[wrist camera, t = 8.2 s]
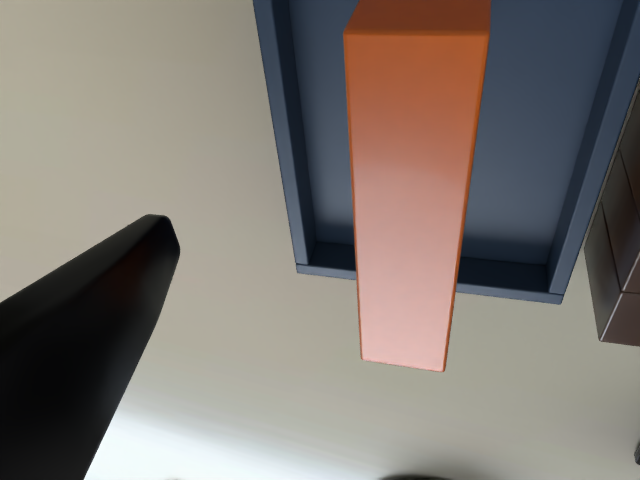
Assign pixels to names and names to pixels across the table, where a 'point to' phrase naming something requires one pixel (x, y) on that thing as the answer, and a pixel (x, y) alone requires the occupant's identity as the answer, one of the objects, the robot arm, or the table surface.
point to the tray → (491, 142)
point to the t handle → (411, 166)
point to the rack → (618, 245)
